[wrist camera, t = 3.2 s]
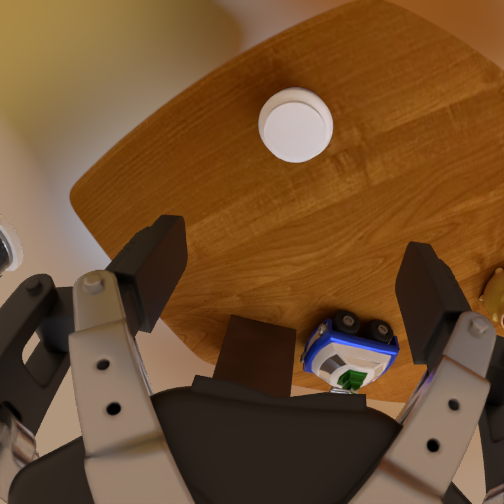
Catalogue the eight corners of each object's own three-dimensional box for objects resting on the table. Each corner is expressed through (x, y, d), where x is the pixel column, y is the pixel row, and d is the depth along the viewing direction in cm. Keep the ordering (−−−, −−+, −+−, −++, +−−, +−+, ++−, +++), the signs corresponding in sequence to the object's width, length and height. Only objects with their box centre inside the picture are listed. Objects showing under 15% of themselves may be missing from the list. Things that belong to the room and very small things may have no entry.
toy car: (323, 303, 38) (323, 363, 30) (401, 325, 38) (414, 381, 30) (297, 347, 43) (292, 403, 35) (369, 364, 43) (373, 417, 35)
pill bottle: (313, 150, 28) (317, 186, 20) (260, 129, 28) (240, 155, 19) (335, 100, 25) (351, 112, 17) (280, 77, 25) (268, 78, 16)
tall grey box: (223, 354, 46) (173, 529, 23) (231, 314, 41) (167, 526, 18) (280, 367, 46) (251, 545, 22) (296, 329, 41) (268, 546, 17)
